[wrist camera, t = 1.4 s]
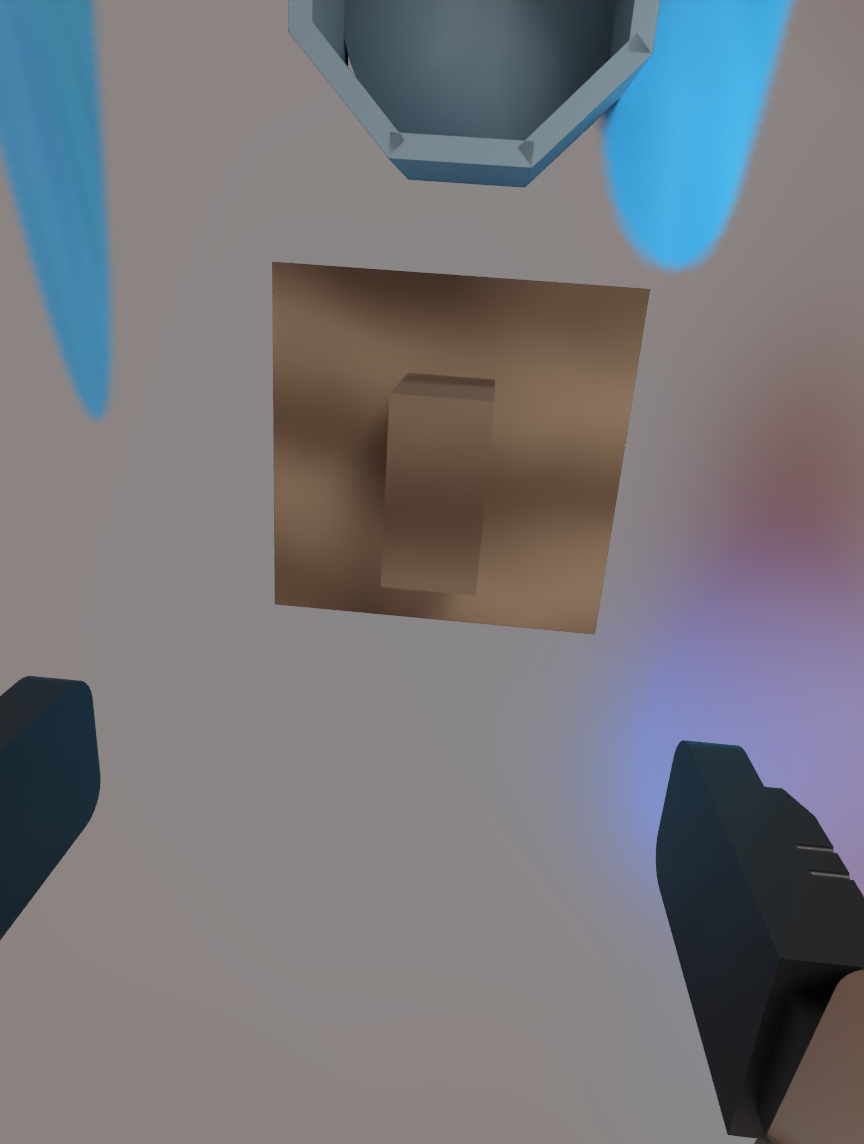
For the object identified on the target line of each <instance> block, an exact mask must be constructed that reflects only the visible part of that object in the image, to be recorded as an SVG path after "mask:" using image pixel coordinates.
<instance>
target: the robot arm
mask: <svg viewBox="0 0 864 1144" xmlns="http://www.w3.org/2000/svg"><path fill="white" fill-rule="evenodd" d="M95 729H96V728H95V719H94V709H93V699H92V694H91V690H90V688H89V686H88V685H87V684H86V683H85V682H83V681H76V680H66V679H55V678H45V677H35V676H27V677H24V678H22V679H21V680H19V681H18V682H17V683H15V684H14V685H13V686H12V687H11V688H9V689H8V690H7V691H6V692H5V693H4V694H2V695H1V696H0V940H1V938H2V937H3V936H4V935H5V933H6V932H7V930H8V929H9V928H10V927H11V925H12V924H13V922H14V921H15V920H16V918H17V917H18V916H19V915H20V913H21V912H22V911H23V909H24V908H25V907H26V905H27V904H28V902H29V901H30V900H31V898H32V897H33V896H34V895H35V893H36V892H37V890H38V889H39V888H40V887H41V885H42V884H43V882H44V881H45V880H46V879H47V877H48V876H49V875H50V873H51V872H52V871H53V869H54V868H55V867H56V865H57V864H58V863H59V861H60V860H61V859H62V857H63V856H64V855H65V853H66V852H67V851H68V849H69V848H70V847H71V845H72V844H73V843H74V841H75V840H76V839H77V837H78V836H79V835H80V833H81V832H82V831H83V829H84V828H85V827H86V825H87V823H88V822H89V821H90V819H91V817H92V815H93V812H94V810H95V807H96V804H97V800H98V796H99V790H100V769H99V758H98V748H97V739H96V730H95ZM656 871H657V878H658V885H659V889H660V892H661V896H662V900H663V903H664V907H665V910H666V914H667V918H668V921H669V925H670V928H671V932H672V935H673V939H674V943H675V946H676V950H677V954H678V957H679V961H680V964H681V968H682V971H683V975H684V979H685V982H686V986H687V990H688V993H689V997H690V1000H691V1004H692V1007H693V1011H694V1015H695V1018H696V1022H697V1025H698V1029H699V1033H700V1036H701V1040H702V1043H703V1047H704V1051H705V1054H706V1058H707V1062H708V1065H709V1069H710V1072H711V1076H712V1080H713V1083H714V1087H715V1091H716V1094H717V1098H718V1101H719V1105H720V1108H721V1112H722V1116H723V1119H724V1123H725V1127H726V1130H727V1134H728V1135H733V1136H741V1137H751V1138H757V1140H756V1141H755V1143H754V1144H864V897H863V895H862V893H861V892H860V890H859V888H858V887H857V885H856V883H855V882H854V880H850V879H849V872H848V870H847V869H846V867H845V865H844V864H843V862H842V860H841V859H840V857H839V855H838V854H837V853H834V852H833V846H832V844H831V842H830V841H829V839H828V837H827V836H826V834H825V833H824V831H823V829H822V827H821V826H820V824H819V822H818V821H817V819H816V818H815V816H814V815H813V814H811V813H810V812H809V811H808V810H807V809H806V808H804V807H803V806H802V805H801V804H800V803H799V802H797V801H796V800H795V799H794V798H793V797H791V796H790V795H789V794H788V793H787V792H786V791H785V790H783V789H781V788H771V787H764V785H763V784H762V782H761V780H760V778H759V776H758V774H757V773H756V771H755V769H754V767H753V765H752V763H751V762H750V760H749V758H748V756H747V754H746V752H745V751H744V749H743V748H742V747H740V746H736V745H725V744H714V743H703V742H693V741H681V742H680V743H679V745H678V746H677V748H676V751H675V755H674V759H673V763H672V769H671V773H670V778H669V783H668V788H667V793H666V798H665V802H664V807H663V812H662V817H661V821H660V827H659V831H658V837H657V844H656Z"/></svg>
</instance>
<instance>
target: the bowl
mask: <svg viewBox="0 0 864 1144" xmlns="http://www.w3.org/2000/svg"><path fill="white" fill-rule="evenodd" d="M659 5H660V0H288V32H289V34H290V35H291V36H292V38H293V39H294V40H295V41H296V43H297V44H298V45H299V46H300V47H301V49H302V50H303V51H304V52H305V54H306V55H307V56H308V58H309V59H310V60H311V61H312V63H313V64H314V65H315V66H316V68H317V69H318V70H319V71H320V73H321V74H322V75H323V76H324V78H325V79H326V80H327V82H328V83H329V84H330V85H331V87H332V88H333V89H334V90H335V92H336V93H337V94H338V95H339V97H340V98H341V99H342V100H343V102H344V103H345V104H346V105H347V107H348V108H349V109H350V111H351V112H352V113H353V114H354V115H355V117H356V118H357V119H358V121H359V122H360V123H361V124H362V125H363V127H364V128H365V129H366V131H367V132H368V133H369V134H370V135H371V137H372V138H373V139H374V141H375V142H376V143H377V144H378V146H379V147H380V148H381V150H382V151H383V152H384V153H385V154H386V156H387V157H388V158H389V159H390V160H391V161H392V162H393V164H394V165H395V166H396V167H397V168H398V169H399V170H400V171H401V172H402V173H403V174H404V175H405V176H406V177H407V179H410V180H423V181H438V182H454V183H469V184H483V185H497V186H498V185H499V186H512V187H526V186H527V185H528V184H529V183H530V182H531V181H532V180H533V179H534V178H535V177H536V176H537V175H539V174H540V173H541V172H542V171H543V170H544V169H545V168H546V167H547V166H548V165H549V164H550V163H551V162H552V161H554V159H556V158H557V157H558V156H559V155H560V154H561V153H562V152H563V151H564V150H565V149H566V148H567V147H568V146H569V145H570V144H572V142H574V141H575V140H576V139H577V138H578V137H579V136H580V135H581V134H582V133H583V132H584V131H586V129H587V128H589V127H590V126H591V125H592V124H593V123H594V122H595V121H596V120H597V119H598V118H599V117H600V116H602V115H603V114H604V113H605V112H606V111H607V110H608V109H609V108H610V107H611V106H612V105H613V104H614V103H615V102H616V101H618V100H619V99H620V98H621V97H622V95H623V94H624V92H625V91H626V90H627V88H628V87H629V85H630V84H631V83H632V81H633V80H634V79H635V77H636V76H637V74H638V73H639V72H640V70H641V69H642V67H643V66H644V65H645V63H646V62H647V60H648V59H649V58H650V56H651V55H652V53H653V46H654V40H655V33H656V26H657V19H658V12H659ZM348 55H349V59H350V62H351V65H352V68H353V70H354V73H355V75H356V77H355V76H354V74H353V73H352V72H351V71H350V70H349V68H348Z"/></svg>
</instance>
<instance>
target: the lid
mask: <svg viewBox="0 0 864 1144" xmlns="http://www.w3.org/2000/svg"><path fill="white" fill-rule="evenodd" d="M272 267H273V269H272V273H273V274H272V276H273V400H274V401H273V404H274V522H275V523H274V531H275V532H274V536H275V604H279V605H289V606H300V607H311V608H322V609H332V610H342V611H354V612H364V613H374V614H386V615H395V616H407V617H417V618H428V619H438V620H449V621H459V622H471V623H481V624H491V625H502V626H513V627H523V628H534V629H545V630H556V631H566V632H576V633H587V634H595V631H596V625H597V618H598V612H599V605H600V599H601V593H602V587H603V581H604V574H605V568H606V562H607V555H608V549H609V543H610V537H611V531H612V524H613V517H614V511H615V505H616V499H617V493H618V487H619V479H620V474H621V468H622V461H623V454H624V448H625V443H626V436H627V430H628V424H629V418H630V411H631V405H632V398H633V393H634V386H635V380H636V374H637V367H638V361H639V354H640V349H641V342H642V336H643V329H644V323H645V317H646V311H647V305H648V298H649V292H650V289H641V288H627V287H613V286H599V285H586V284H572V283H557V282H544V281H530V280H516V279H502V278H488V277H475V276H460V275H447V274H434V273H419V272H405V271H392V270H377V269H364V268H350V267H336V266H322V265H308V264H294V263H280V262H272Z"/></svg>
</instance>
